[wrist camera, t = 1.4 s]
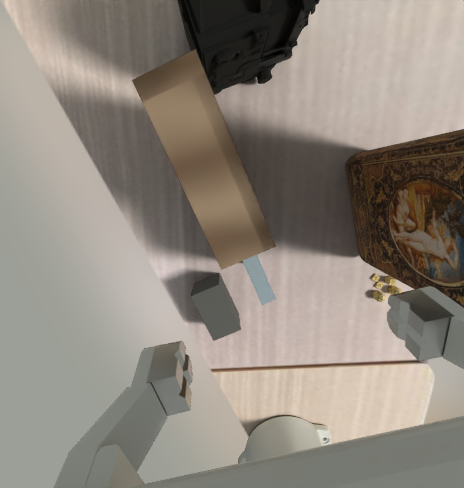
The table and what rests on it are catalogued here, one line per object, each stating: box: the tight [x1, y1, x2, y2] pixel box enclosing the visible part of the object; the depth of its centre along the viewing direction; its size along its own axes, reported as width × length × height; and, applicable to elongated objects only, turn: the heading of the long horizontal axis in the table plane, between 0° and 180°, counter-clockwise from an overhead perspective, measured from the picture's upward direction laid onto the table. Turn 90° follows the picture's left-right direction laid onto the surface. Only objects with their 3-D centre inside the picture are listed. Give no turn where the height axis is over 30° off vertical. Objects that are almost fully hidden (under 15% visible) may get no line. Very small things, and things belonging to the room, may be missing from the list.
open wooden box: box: [132, 49, 276, 270], centre depth 29 cm, size 15×5×20 cm, turn 24°
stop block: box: [191, 273, 241, 341], centre depth 40 cm, size 8×4×5 cm, turn 24°
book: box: [345, 129, 464, 308], centre depth 28 cm, size 16×6×25 cm, turn 15°
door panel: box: [243, 255, 276, 305], centre depth 33 cm, size 12×2×14 cm, turn 24°
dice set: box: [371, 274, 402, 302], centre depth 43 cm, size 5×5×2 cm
